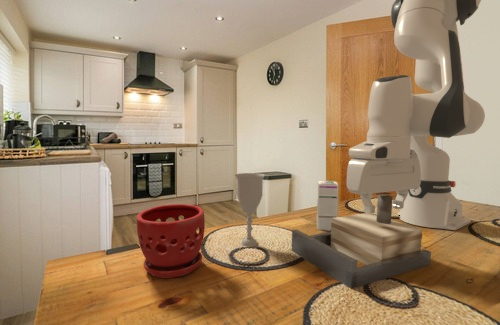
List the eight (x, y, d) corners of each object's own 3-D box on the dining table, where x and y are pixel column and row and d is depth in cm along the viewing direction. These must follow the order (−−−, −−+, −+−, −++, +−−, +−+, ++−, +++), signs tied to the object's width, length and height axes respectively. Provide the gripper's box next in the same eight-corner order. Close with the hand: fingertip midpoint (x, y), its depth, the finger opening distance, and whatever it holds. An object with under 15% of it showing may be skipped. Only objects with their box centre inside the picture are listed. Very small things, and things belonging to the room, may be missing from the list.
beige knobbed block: (366, 239, 73) (369, 189, 71) (420, 261, 60) (424, 201, 59) (330, 246, 67) (332, 193, 66) (380, 272, 55) (384, 206, 54)
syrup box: (337, 235, 79) (340, 184, 78) (316, 233, 80) (318, 183, 79) (335, 228, 84) (337, 180, 83) (315, 227, 86) (317, 180, 84)
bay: (360, 241, 75) (362, 218, 74) (429, 270, 58) (431, 242, 58) (291, 255, 65) (292, 230, 64) (350, 295, 49) (352, 261, 48)
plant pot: (152, 254, 65) (151, 203, 64) (209, 255, 64) (209, 204, 63) (125, 283, 52) (124, 219, 51) (197, 285, 51) (196, 221, 50)
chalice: (241, 256, 64) (242, 177, 63) (229, 245, 70) (230, 174, 69) (269, 250, 68) (270, 176, 66) (255, 241, 74) (256, 172, 72)
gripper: (405, 148, 70) (401, 203, 72) (343, 149, 61) (340, 211, 63) (430, 149, 65) (426, 209, 66) (366, 150, 56) (363, 219, 57)
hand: (384, 210), depth 64 cm, fingers open, 8 cm apart
